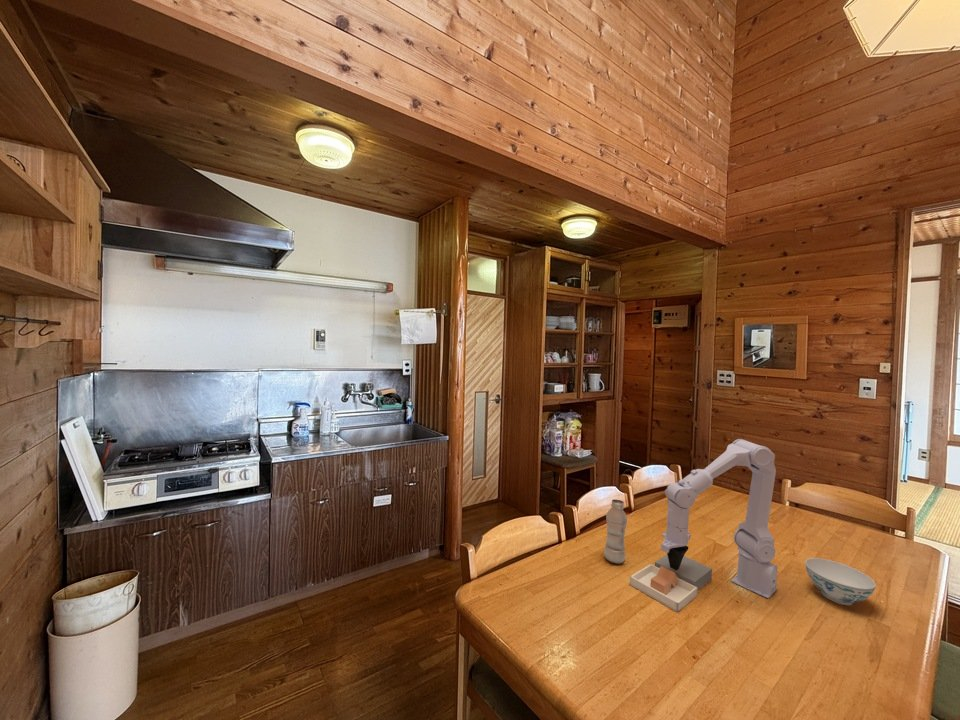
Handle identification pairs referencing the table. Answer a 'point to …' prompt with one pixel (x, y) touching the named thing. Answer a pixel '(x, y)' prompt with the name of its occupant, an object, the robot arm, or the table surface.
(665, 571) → the orange brown block
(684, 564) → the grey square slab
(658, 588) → the terracotta block
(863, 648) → the table surface
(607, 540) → the plastic bottle
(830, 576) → the chinaware
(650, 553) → the table surface
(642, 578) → the tray
